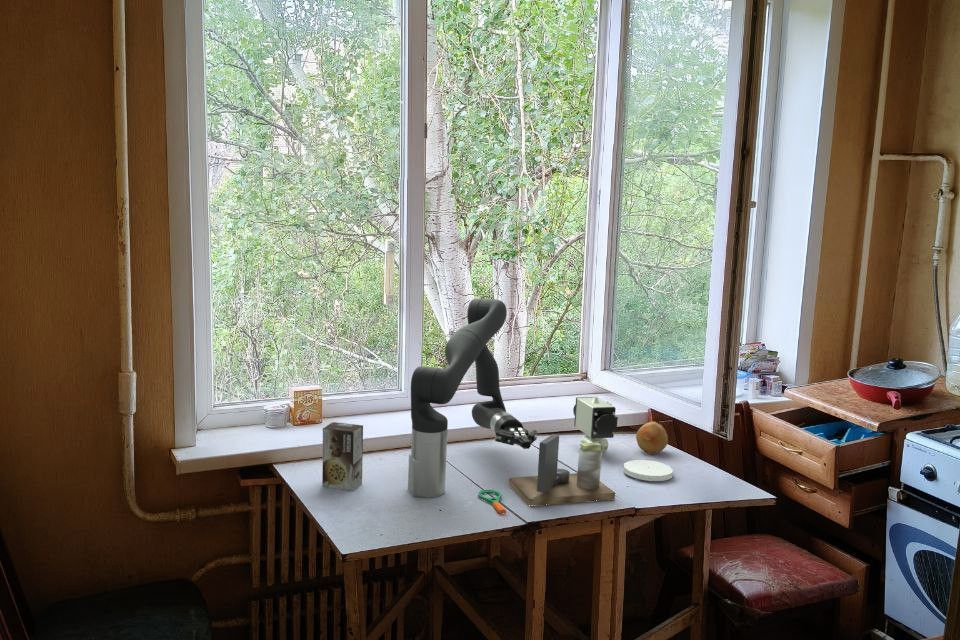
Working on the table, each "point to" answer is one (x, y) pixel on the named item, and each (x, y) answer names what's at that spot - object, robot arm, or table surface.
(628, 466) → the plastic lid
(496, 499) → the magnifying glass
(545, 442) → the grey panel with handle
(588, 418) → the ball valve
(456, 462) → the table surface
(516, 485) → the base
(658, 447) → the onion
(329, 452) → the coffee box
